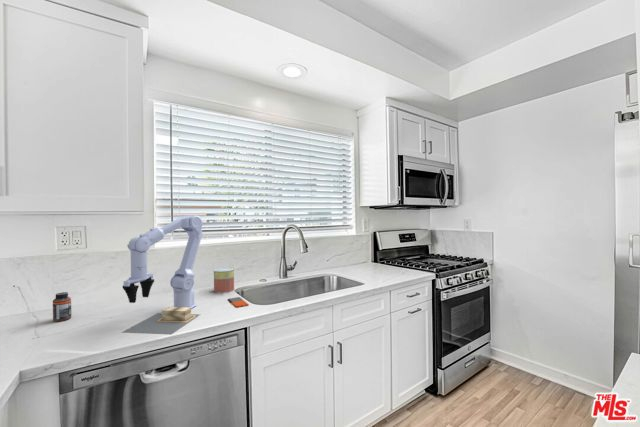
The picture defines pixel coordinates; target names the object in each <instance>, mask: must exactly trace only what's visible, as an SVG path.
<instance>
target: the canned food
mask: <svg viewBox="0 0 640 427" xmlns="http://www.w3.org/2000/svg"><path fill="white" fill-rule="evenodd" d="M233 291H235V268H234V267H220V268H215V269H213V292H214V293H218V294H224V293H231V292H233Z"/></svg>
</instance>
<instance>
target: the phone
mask: <svg viewBox="0 0 640 427" xmlns="http://www.w3.org/2000/svg"><path fill="white" fill-rule="evenodd" d="M227 301H228V302H229V303H230V304H231V305H232V306H233V307H234V308H235V309H238V308H242V307H248V306H250V304H249V303H248V302H246V301H245V300H244V299H242V297H240V296H237V297H231V298H227Z"/></svg>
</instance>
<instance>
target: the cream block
mask: <svg viewBox="0 0 640 427" xmlns="http://www.w3.org/2000/svg"><path fill="white" fill-rule="evenodd" d="M161 313H162V320H177V321H185V320H187V319H189V318H190V317H191V314H192V309H191V308H189V307H174V306H168V307H166V308H164V309H162V312H161Z"/></svg>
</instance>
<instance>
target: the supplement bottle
mask: <svg viewBox="0 0 640 427" xmlns="http://www.w3.org/2000/svg"><path fill="white" fill-rule="evenodd" d="M71 318H72V297H70V296H69V292H68V291H61V292H57V293H56V294H55V297H54V299H53V300H52V320H53V322H57V323H58V322H60V323H61V322H65V321H68V320H70V319H71Z"/></svg>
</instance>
